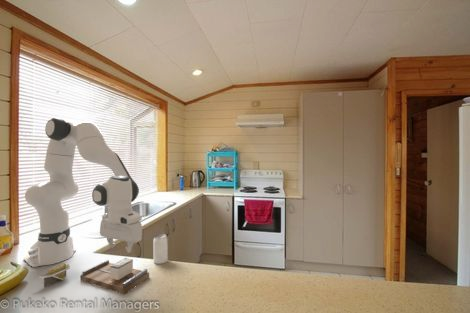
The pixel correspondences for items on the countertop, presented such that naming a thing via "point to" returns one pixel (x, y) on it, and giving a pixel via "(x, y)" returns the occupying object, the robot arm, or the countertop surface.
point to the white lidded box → (121, 268)
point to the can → (160, 249)
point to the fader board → (102, 278)
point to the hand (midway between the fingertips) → (120, 249)
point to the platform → (55, 274)
